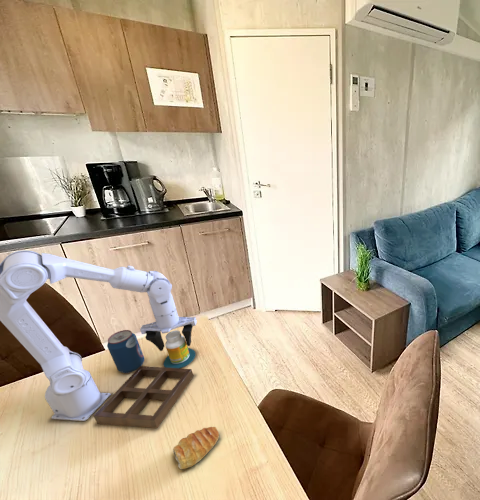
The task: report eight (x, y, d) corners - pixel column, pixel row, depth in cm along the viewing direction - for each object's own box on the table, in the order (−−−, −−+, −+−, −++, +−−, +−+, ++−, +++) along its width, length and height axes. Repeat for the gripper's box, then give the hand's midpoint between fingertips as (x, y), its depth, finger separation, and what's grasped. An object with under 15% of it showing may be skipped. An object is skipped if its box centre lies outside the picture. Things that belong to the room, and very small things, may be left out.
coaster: (157, 369, 88) (157, 368, 88) (175, 348, 96) (175, 347, 96) (185, 370, 87) (185, 370, 87) (201, 349, 96) (200, 348, 95)
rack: (97, 423, 72) (92, 415, 71) (143, 373, 86) (140, 365, 85) (157, 428, 71) (154, 420, 70) (193, 376, 86) (191, 368, 84)
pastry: (212, 424, 72) (209, 414, 70) (225, 443, 68) (222, 433, 66) (171, 454, 65) (167, 443, 64) (183, 476, 61) (179, 466, 60)
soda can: (150, 362, 90) (139, 332, 85) (127, 378, 85) (113, 347, 80) (137, 355, 93) (125, 326, 88) (113, 370, 87) (99, 340, 82)
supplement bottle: (186, 363, 90) (178, 339, 86) (167, 365, 89) (159, 341, 85) (192, 351, 94) (185, 327, 90) (174, 352, 94) (167, 329, 90)
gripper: (131, 323, 79) (145, 360, 84) (189, 314, 82) (198, 350, 88) (140, 308, 85) (153, 344, 90) (193, 301, 89) (202, 335, 94)
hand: (176, 346), depth 90 cm, fingers open, 7 cm apart
